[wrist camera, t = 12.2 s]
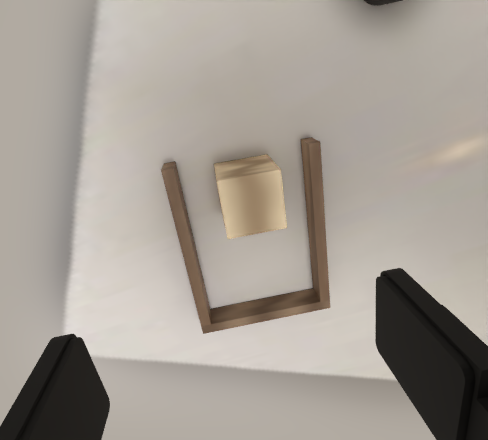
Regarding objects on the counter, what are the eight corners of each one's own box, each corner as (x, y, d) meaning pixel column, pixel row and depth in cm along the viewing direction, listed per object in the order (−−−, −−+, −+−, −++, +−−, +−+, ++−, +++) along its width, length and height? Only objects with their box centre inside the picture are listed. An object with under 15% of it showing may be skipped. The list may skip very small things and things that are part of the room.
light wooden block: (267, 154, 37) (281, 169, 31) (273, 204, 40) (287, 227, 33) (213, 163, 37) (216, 181, 31) (222, 213, 39) (227, 239, 33)
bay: (311, 137, 37) (320, 141, 34) (322, 293, 45) (330, 307, 43) (164, 163, 36) (161, 170, 34) (203, 318, 45) (203, 333, 42)
